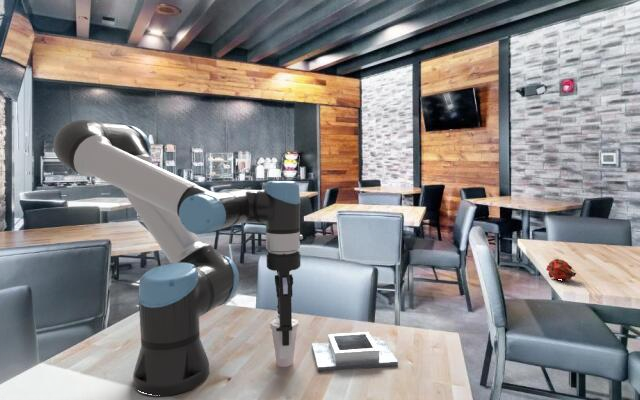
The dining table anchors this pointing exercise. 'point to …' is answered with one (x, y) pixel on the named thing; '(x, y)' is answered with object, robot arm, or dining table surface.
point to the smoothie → (273, 325)
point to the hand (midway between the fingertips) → (284, 349)
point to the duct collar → (352, 352)
